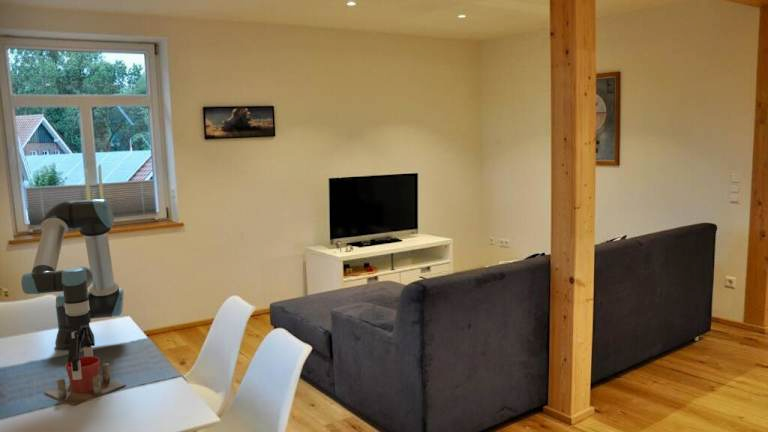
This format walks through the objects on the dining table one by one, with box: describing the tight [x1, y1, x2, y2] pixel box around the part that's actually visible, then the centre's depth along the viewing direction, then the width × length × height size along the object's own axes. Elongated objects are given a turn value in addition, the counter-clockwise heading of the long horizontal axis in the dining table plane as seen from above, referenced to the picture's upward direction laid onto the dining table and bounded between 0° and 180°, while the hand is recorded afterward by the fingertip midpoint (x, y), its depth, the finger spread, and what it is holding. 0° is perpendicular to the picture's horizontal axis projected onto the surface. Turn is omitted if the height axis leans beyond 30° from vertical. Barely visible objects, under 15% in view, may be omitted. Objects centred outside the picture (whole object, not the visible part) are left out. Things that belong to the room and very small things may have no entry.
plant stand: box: [44, 363, 127, 407], centre depth 216 cm, size 19×19×7 cm
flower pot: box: [65, 356, 101, 392], centre depth 216 cm, size 11×11×10 cm
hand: (83, 371), depth 216 cm, fingers open, 13 cm apart
